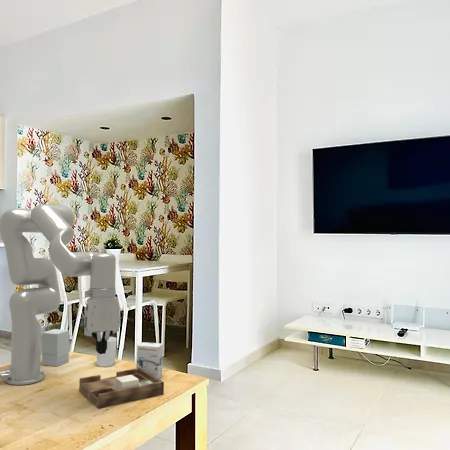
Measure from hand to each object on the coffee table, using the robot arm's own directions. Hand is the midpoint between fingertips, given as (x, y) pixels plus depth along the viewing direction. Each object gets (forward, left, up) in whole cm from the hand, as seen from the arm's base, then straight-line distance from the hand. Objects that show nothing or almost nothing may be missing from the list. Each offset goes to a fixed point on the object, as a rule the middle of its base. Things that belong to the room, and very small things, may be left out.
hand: (101, 352), depth 139 cm
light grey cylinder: (+16, +36, -15) cm, 42 cm away
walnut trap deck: (+8, +4, -15) cm, 18 cm away
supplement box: (0, +48, -15) cm, 50 cm away
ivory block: (+8, -1, -13) cm, 15 cm away
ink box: (+23, +13, -15) cm, 31 cm away
